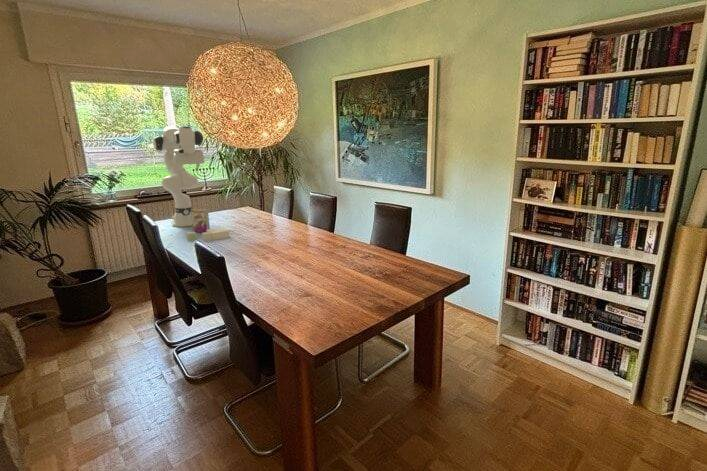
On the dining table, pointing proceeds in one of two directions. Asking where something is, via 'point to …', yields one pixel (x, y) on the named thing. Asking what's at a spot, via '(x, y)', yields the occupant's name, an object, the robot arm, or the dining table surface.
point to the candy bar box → (200, 220)
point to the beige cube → (206, 236)
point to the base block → (219, 233)
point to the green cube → (191, 236)
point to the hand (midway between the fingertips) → (190, 170)
